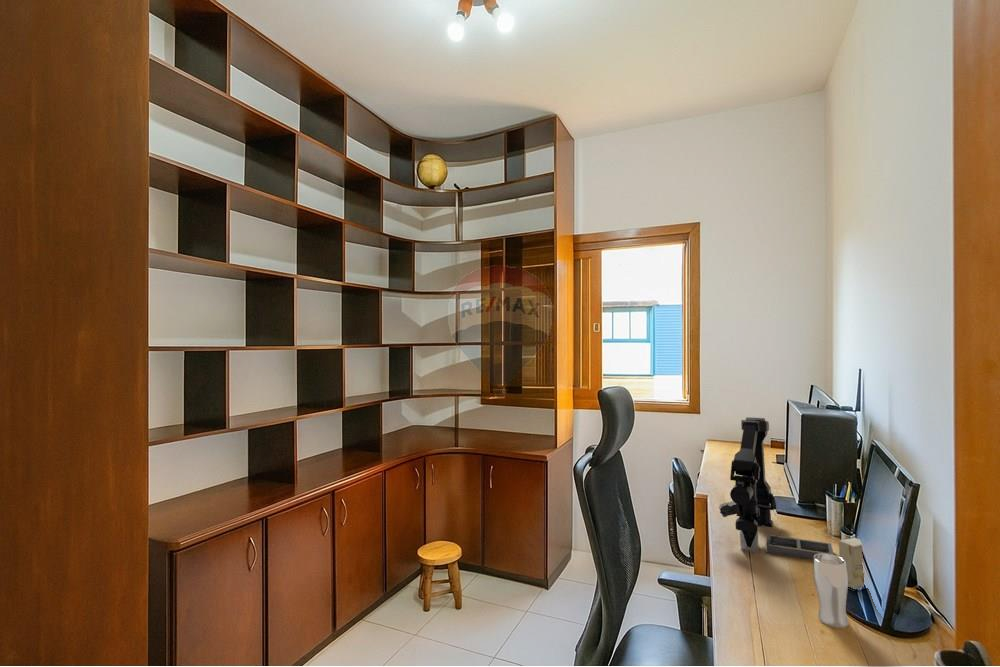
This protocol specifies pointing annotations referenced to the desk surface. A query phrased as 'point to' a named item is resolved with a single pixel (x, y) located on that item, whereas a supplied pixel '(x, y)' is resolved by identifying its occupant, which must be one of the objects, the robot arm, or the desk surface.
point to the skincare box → (853, 561)
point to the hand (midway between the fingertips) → (749, 543)
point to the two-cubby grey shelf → (796, 543)
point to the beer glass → (831, 589)
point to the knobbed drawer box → (744, 546)
